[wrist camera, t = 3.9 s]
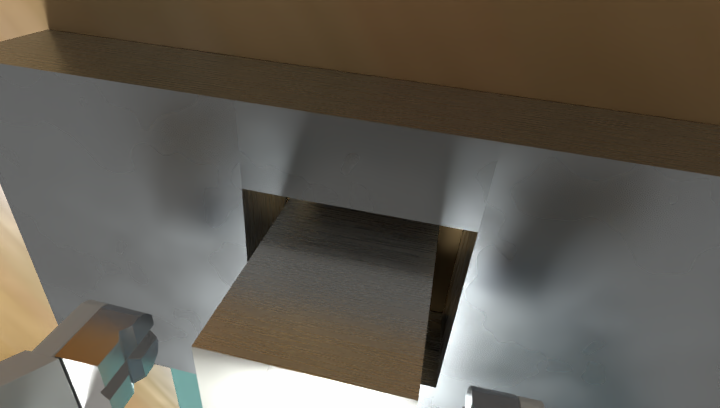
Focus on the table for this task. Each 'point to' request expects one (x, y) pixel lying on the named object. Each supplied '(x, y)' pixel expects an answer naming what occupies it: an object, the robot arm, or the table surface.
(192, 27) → the table surface
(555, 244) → the grey flat block
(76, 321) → the robot arm
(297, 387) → the white rectangular block
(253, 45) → the table surface
